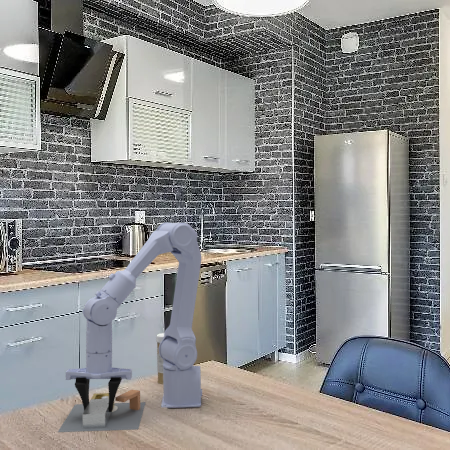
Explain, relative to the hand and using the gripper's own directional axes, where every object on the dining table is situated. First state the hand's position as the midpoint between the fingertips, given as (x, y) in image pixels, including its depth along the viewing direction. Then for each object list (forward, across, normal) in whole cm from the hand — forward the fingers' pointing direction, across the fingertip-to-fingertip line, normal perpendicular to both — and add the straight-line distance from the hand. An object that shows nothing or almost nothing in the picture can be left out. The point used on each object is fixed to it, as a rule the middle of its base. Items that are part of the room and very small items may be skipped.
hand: (98, 410), depth 125 cm
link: (+1, 0, +1) cm, 2 cm away
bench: (+2, +1, +1) cm, 2 cm away
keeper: (+2, +6, +2) cm, 7 cm away
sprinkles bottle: (+2, +14, +25) cm, 29 cm away
